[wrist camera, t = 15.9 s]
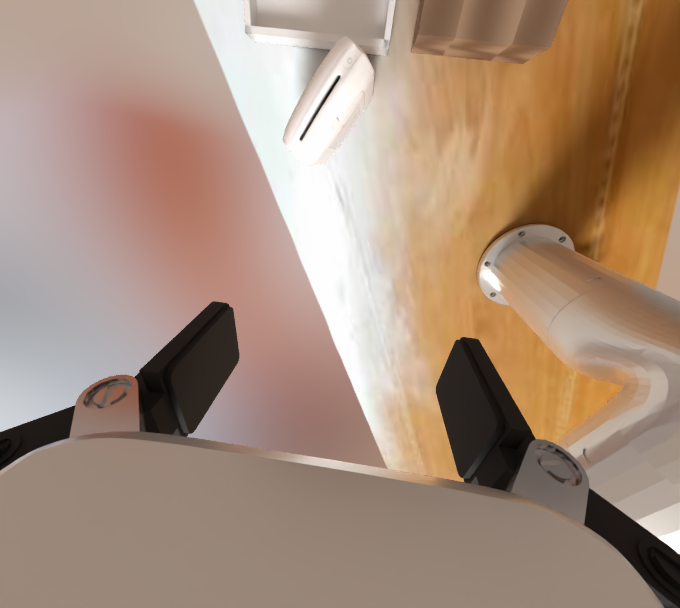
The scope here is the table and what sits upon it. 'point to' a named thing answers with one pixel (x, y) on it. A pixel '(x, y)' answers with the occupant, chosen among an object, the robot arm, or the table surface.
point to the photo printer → (330, 104)
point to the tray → (321, 23)
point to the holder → (487, 28)
